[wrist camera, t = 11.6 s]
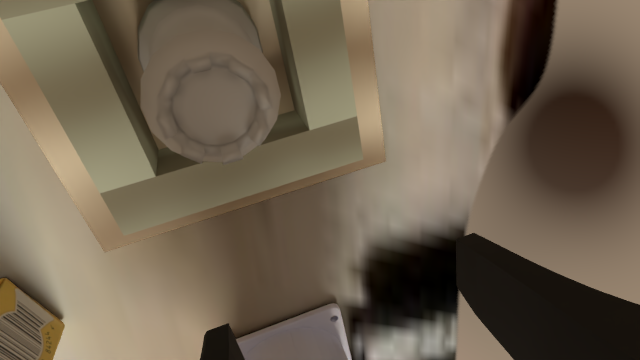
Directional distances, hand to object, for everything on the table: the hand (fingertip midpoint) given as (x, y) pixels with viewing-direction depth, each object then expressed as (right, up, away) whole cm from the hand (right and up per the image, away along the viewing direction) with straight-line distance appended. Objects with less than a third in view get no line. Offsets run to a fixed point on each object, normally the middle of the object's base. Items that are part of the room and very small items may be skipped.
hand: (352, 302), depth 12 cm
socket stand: (-6, +9, +4) cm, 11 cm away
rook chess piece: (-6, +9, +4) cm, 11 cm away
